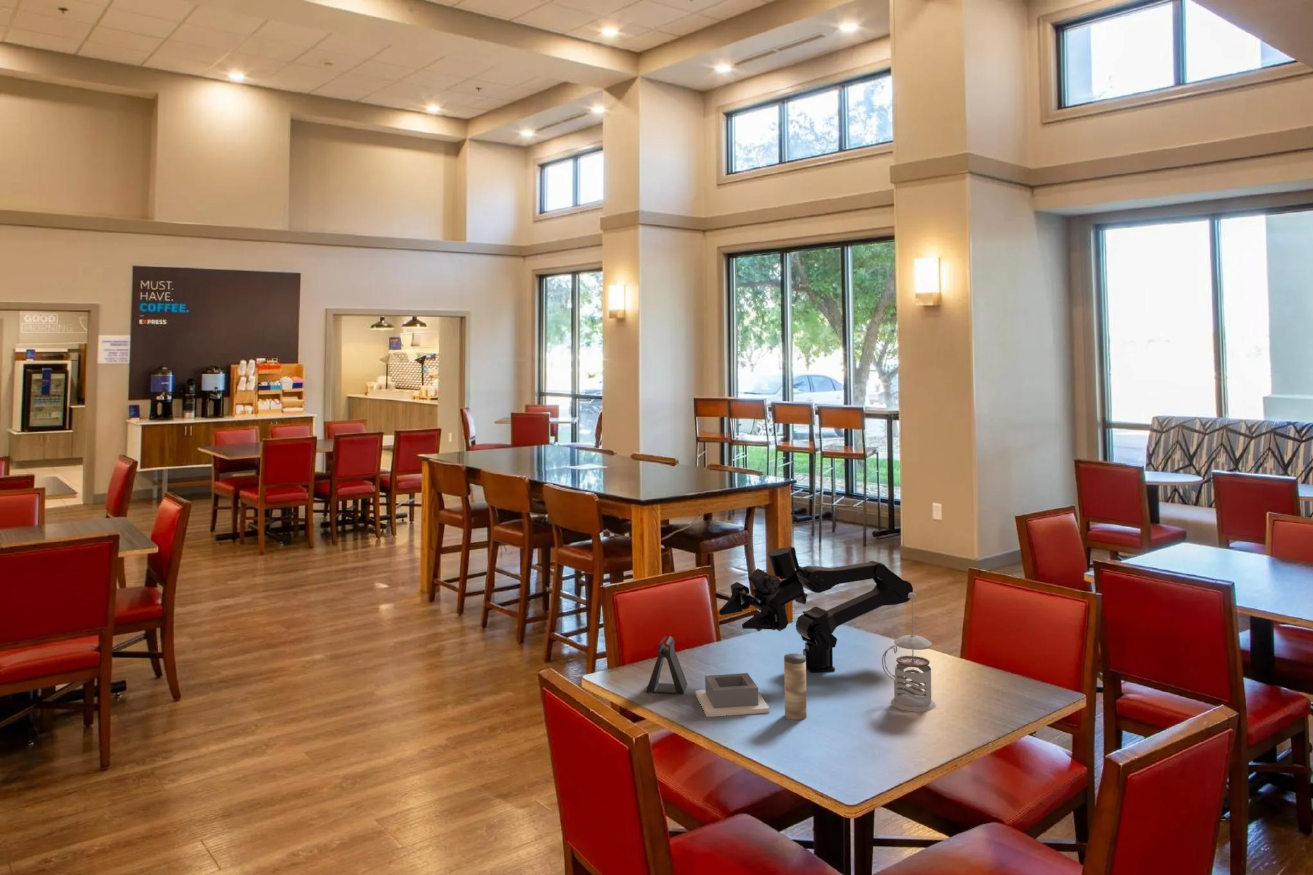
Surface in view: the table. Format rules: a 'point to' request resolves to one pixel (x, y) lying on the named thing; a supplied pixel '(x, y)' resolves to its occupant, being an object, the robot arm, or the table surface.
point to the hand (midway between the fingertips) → (730, 619)
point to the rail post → (795, 686)
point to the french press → (911, 674)
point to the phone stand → (675, 671)
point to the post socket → (731, 696)
